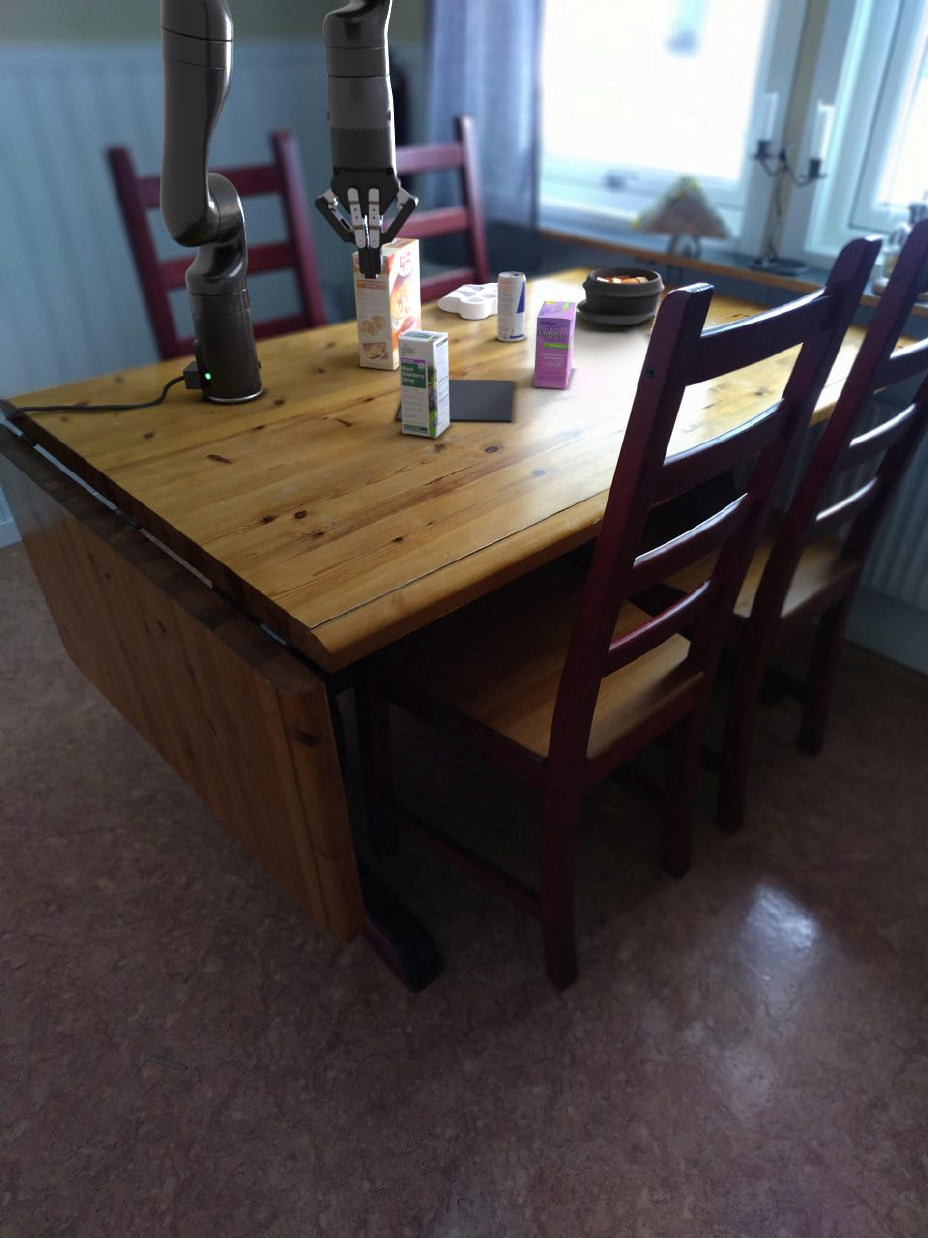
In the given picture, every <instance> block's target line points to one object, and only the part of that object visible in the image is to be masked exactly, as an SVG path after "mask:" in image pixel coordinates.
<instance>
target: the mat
mask: <svg viewBox="0 0 928 1238" xmlns="http://www.w3.org/2000/svg"><path fill="white" fill-rule="evenodd" d="M513 398H514V380H507V379H505V380H502V379H501V380H497V379H496V380H494V379H493V380H491V379H449V422H462V423H463V422H465V423H466V422H469V423H470V422H472V423H475V422H476V423H480V422H481V423H512V419H513ZM396 421H398V422H399V421H400V422H402V404H401V406H400V408H399V412H398V414H397V418H396Z"/></svg>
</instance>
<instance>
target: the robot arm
mask: <svg viewBox="0 0 928 1238" xmlns="http://www.w3.org/2000/svg"><path fill="white" fill-rule="evenodd" d="M392 5H393V0H350V2H349V3H348V4H347V5H346V6H344V7H341V8H338V9H335V10H333V11H330V12H328V13H327V14H326V15H325V17H324V19H323V24H322V36H323V46H324V47H323V48H324V57H325V58H324V59H325V70H326V108H327V109H326V119H327V121H328V131H329V132H328V133H329V144H330V155H331V156H330V157H331V168H332V173H331V174H332V175H331V177H330V180H329V188H328V189H327V190H326V191H325V192H324V193H323V194H320V195H319V196H318V197H316V199H315V200H314V206H315V208H316V209H317V211H318V212H319V213H320V214H321V215H322V217H323V218H324V220H326V222H327V223H328V224H329V225H330V227H331V228H332V229H333V231H334V232H335V233H336V234H337V235H338V237H339V238H340V239H341V241H343V242H344V243H347V244H348V243H350V244H352V245H354V246H355V247H356V248H357V251H358V258H359V270H360V272H361V274H365V279H377V278H378V275H379V274H381V272H382V269H383V255H382V245H384V244H386V243H391V242H392V241H393V240H394V238H397V236H398V234H399V232H400V231H401V230H402V228H403V227H404V225H405V224H406V222H407V221H408V219H409V218H410V216H411V215H412V213H413V212H414V210H415V209H416V207H417V205H418V203H419V198H418V197H417V196H416V195H414V194H412V195H411V194H410V193H409V192H407V191H406V190H405V189H404V188H403V187H402V181H401V178H400V176H399V175H398V172H397V160H396V141H395V139H396V137H395V136H396V135H395V117H394V99H393V92H392V86H391V79H390V78H391V77H390V60H389V41H388V40H389V39H388V30H389V22H390V16H391V11H392V10H391V9H392ZM233 21H234V20H233V18H232V13H231V10H230V8H229V5H228V2H227V0H160V45H161V49H160V50H161V63H162V64H161V65H162V84H163V85H162V88H163V89H162V92H163V93H162V94H163V95H162V96H163V98H162V99H163V101H162V102H163V104H162V106H163V107H162V109H163V110H162V111H163V117H162V118H163V136H162V137H163V138H162V142H163V143H162V155H161V170H160V172H161V173H160V182H159V184H160V185H159V208H160V215H161V219H162V223H163V225H164V227H165V230H166V232H167V234H168V235H169V236H170V238H171V239H172V240H173V241H174V242H175V243H176V244H178V245H179V246H181V247H184V248H191V249H192V248H198V250H197V254H196V256H195V258H194V260H193V262H192V263H191V264H190V266H189V267H188V268H187V269H186V271H185V274H184V280H185V285H186V291H187V295H188V302H189V306H190V312H191V317H192V322H193V327H194V334H195V338H196V339H195V340H194V341H193V342H192V348H193V353H194V357H195V360H194V361H193V360H192V361H191V362H190V363H189V364H188V365H187V366H185V368H183V370H182V375H181V376H178V377H175V378H173V379H172V380H170V381H168V382H167V383H166V384H165V385H164V386H163V388H162V392H161V394H160V396H159V397H157V398H156V399H154V400H152V401H150V402H149V401H148V402H146V403H141V404H105V405H103V404H102V405H51V406H50V405H47V406H22V407H18V408H15V409H13V410H12V411H11V412H10V413H8V415H7V416H6V418H5V421H11V420H13V419H14V418H15V417H16V416H18V415H19V414H22V413H25V412H54V411H55V412H56V411H78V412H79V411H80V412H81V411H84V412H87V411H89V412H90V411H91V412H92V411H94V412H97V411H111V410H112V411H113V410H114V411H115V410H119V411H120V410H121V411H123V410H124V411H125V410H134V409H140V408H146V407H153V406H156V405H158V404H161V403H162V402H164V401H165V399H166V398H167V395H168V392H169V389H170V388H172V386H174V385H176V384H178V383H180V382H183V381H184V386H185V389H186V390H195V391H196V390H201V394H202V400H203V401H211V402H214V403H217V404H239V403H245V402H250V401H253V400H255V399H257V398H259V397H261V396H262V395H263V394H264V387H263V383H262V382H263V381H262V377H261V370H262V364H261V363H262V362H261V361H260V360H259V356H258V348H257V343H256V337H255V330H254V323H253V316H252V310H251V303H250V296H249V290H248V284H247V283H248V282H247V274H248V269H249V252H248V242H247V233H246V231H247V230H246V221H245V214H244V208H243V205H242V201H241V198H240V196H239V193H238V191H237V188H236V187H235V186H234V184H233V183H232V182H231V181H230V180H229V179H228V178H227V177H225V176H224V175H222V174H220V173H217V172H209V156H210V148H211V143H212V139H213V136H214V134H215V130H216V127H217V125H218V122H219V120H220V118H221V115H222V113H223V110H224V107H225V105H226V102H227V99H228V97H229V94H230V90H231V87H232V82H233V76H234V75H233V74H234V44H235V43H234V41H235V40H234V37H235V36H234V22H233ZM396 198H397V203H396V209H397V210H398V211H399V212H398V213H397V215H396V217H395V218H394V219H393V221H392V222H391V224H390V225H389V227H388V228H387V229H385V230H383V223H384V216H385V215H386V213H387V212H388V210H389V209H390V207H391V205H392V204H393V202H394V200H395V199H396ZM338 202H339V203H340V204H341V206H342V207H343V209H344V210H345V211H346V213H347V214H348V215H350V216H351V223H352V226H351V225H350V223H349V222H348V221H347V220H346V218H345V217H344V216H343V214H342V213H341V212H340V211H339V210H338V208H337V207H338ZM368 227H369V228H368ZM368 229H369V230H368Z"/></svg>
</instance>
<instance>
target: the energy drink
mask: <svg viewBox="0 0 928 1238" xmlns="http://www.w3.org/2000/svg"><path fill="white" fill-rule="evenodd" d="M497 277H498V278H497V283H498V294H497V314H496V337H497V339H498V340H499V341H501V342H505V343H516V342H521V341H522V340H523V339H524V338H525V318H526V317H525V316H526V315H525V314H526V280H527V278H526V276H525V273H524V272H518V271H504V272H500V273H499V274H498V276H497Z"/></svg>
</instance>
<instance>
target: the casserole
mask: <svg viewBox="0 0 928 1238" xmlns="http://www.w3.org/2000/svg"><path fill="white" fill-rule="evenodd" d="M581 287H582V289H583V290H584V292H585V298H584V299H583V300H580V301H579V302H578V303H577V305H576V310H578V311H579V312H580V313H581V314H582V318H583V319H584V320H586V321H589V322H592V323H597V324H602V325H603V324H605V325H615V326H632V325H633V326H634V325H639V324H641V323H643V322H645V321H647V320H650V319H654V318H656V317H655V313H656V309H657V306H658V304H659V302H660V297H661V293H662V292H663V291H664V290H665V288H666V286H665V284H664V283H663V281H662V276H661V275H660V274H659V273H657V272H656V271H653V270H651V269H645V268H639V267H630V266H629V267H628V266H626V267H625V266H616V267H615V266H614V267H613V266H612V267H604V268H598V269H595V270H592V271H590V272H588V274H587V276H586V278H585V280H584V281H583V282H582V284H581Z"/></svg>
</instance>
